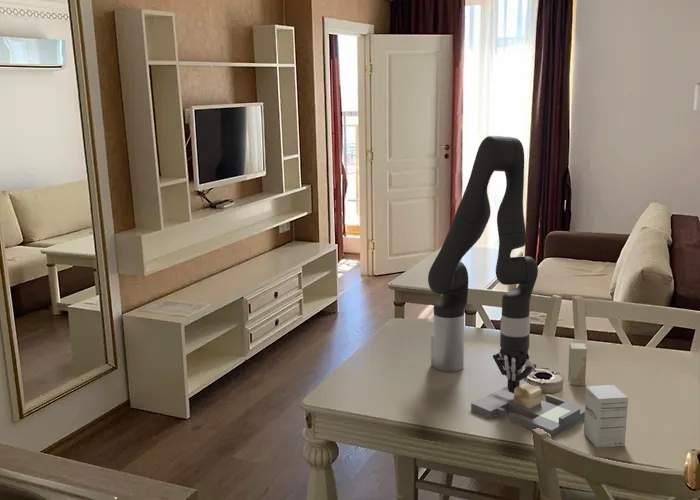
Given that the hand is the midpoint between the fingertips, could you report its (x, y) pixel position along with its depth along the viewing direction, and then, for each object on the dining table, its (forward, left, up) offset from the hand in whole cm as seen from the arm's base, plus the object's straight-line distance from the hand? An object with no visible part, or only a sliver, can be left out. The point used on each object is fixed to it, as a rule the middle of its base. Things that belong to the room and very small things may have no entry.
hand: (513, 391), depth 186 cm
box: (+4, +25, -4) cm, 26 cm away
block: (+5, 0, -2) cm, 5 cm away
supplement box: (+27, 0, -4) cm, 27 cm away
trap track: (+6, 0, -4) cm, 7 cm away
